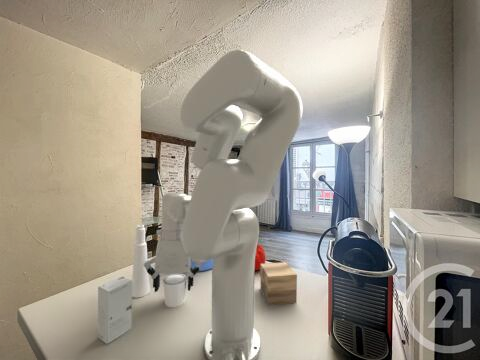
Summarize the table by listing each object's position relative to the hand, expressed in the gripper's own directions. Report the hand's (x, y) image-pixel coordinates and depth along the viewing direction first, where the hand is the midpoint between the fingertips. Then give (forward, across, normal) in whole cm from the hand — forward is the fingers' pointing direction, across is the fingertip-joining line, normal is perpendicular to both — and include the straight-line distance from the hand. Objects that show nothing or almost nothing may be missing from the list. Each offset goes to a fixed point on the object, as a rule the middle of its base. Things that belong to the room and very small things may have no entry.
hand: (173, 288), depth 63 cm
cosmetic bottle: (+4, -11, +5) cm, 13 cm away
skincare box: (+4, -11, -12) cm, 17 cm away
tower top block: (-1, +33, -1) cm, 33 cm away
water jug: (+4, +7, +25) cm, 26 cm away
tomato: (+4, +29, +19) cm, 35 cm away
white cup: (+4, +1, -1) cm, 4 cm away
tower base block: (+3, +33, -1) cm, 33 cm away
